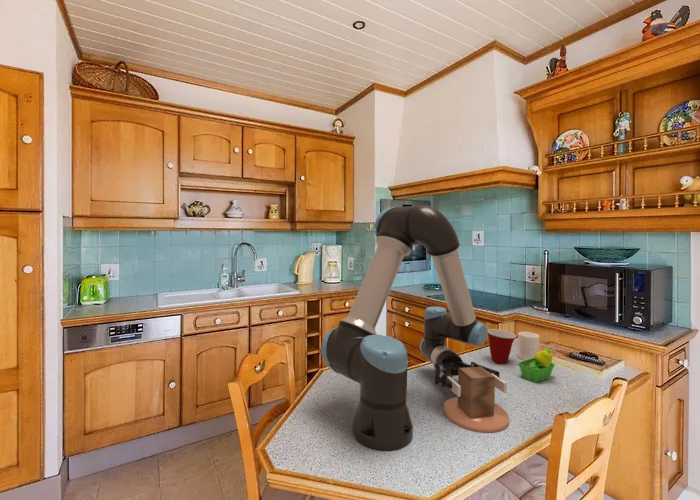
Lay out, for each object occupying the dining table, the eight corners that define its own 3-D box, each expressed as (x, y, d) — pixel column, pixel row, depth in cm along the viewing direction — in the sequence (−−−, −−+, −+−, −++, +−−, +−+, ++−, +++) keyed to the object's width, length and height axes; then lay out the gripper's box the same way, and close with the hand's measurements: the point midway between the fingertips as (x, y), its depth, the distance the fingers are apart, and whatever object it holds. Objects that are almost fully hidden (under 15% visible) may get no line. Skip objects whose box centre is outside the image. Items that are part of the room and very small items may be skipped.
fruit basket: (534, 370, 129) (535, 340, 128) (558, 379, 121) (560, 347, 121) (516, 376, 123) (517, 345, 122) (541, 386, 115) (543, 353, 115)
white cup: (539, 357, 143) (540, 333, 142) (538, 363, 136) (539, 338, 136) (518, 353, 147) (519, 330, 146) (516, 359, 140) (517, 335, 140)
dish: (462, 435, 86) (462, 430, 86) (433, 402, 103) (434, 398, 103) (522, 429, 89) (523, 424, 89) (485, 398, 106) (485, 394, 106)
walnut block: (470, 418, 92) (471, 378, 91) (457, 405, 99) (458, 368, 98) (493, 416, 93) (495, 376, 92) (479, 403, 100) (480, 366, 99)
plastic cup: (518, 368, 131) (519, 337, 130) (488, 365, 133) (489, 335, 132) (511, 358, 141) (512, 329, 141) (483, 356, 143) (484, 327, 143)
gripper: (480, 370, 116) (523, 400, 95) (410, 374, 111) (439, 406, 90) (481, 348, 115) (524, 373, 94) (411, 351, 111) (439, 378, 90)
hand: (482, 389), depth 92 cm, fingers open, 13 cm apart
